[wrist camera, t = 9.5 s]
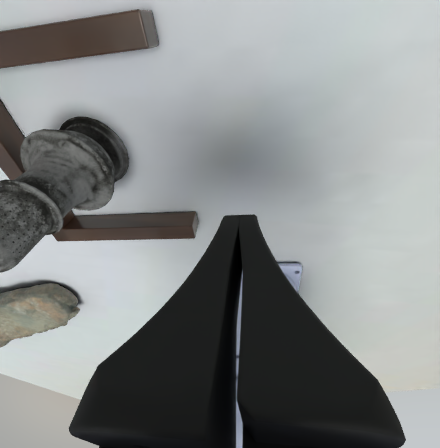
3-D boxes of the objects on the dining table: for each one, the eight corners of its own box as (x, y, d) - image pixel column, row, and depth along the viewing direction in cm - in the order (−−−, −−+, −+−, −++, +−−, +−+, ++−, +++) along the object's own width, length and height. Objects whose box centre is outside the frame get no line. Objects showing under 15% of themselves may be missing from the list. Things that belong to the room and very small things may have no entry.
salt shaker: (114, 108, 16) (-58, 221, 7) (142, 183, 20) (54, 320, 11) (38, 116, 17) (-207, 227, 8) (78, 187, 21) (-54, 317, 11)
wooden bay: (198, 224, 22) (195, 238, 21) (69, 227, 24) (57, 241, 22) (152, 10, 13) (139, 9, 11) (-59, 43, 14) (-95, 46, 13)
